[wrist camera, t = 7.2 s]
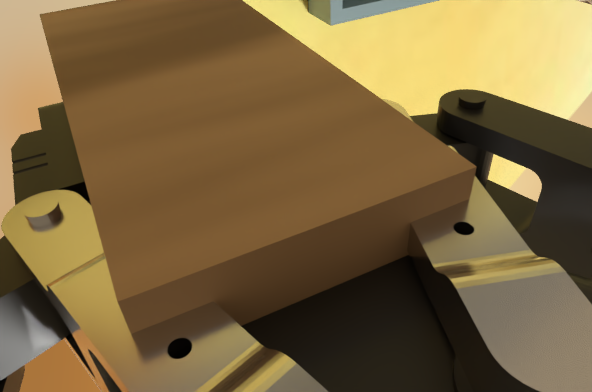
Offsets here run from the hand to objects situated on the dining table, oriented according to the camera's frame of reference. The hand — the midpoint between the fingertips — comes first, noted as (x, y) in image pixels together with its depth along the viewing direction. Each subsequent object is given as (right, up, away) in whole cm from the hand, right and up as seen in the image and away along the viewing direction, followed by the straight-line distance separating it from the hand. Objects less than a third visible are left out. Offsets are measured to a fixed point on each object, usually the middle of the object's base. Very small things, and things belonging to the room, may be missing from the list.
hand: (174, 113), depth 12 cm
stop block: (-1, +1, +2) cm, 2 cm away
